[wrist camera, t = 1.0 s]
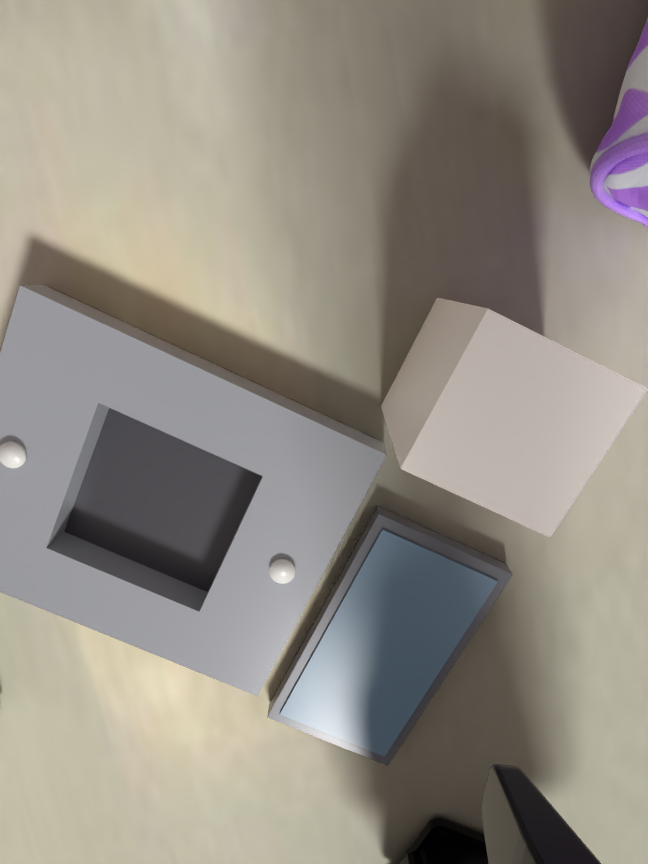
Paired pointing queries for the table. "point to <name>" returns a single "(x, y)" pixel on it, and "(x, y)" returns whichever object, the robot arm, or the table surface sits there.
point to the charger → (503, 414)
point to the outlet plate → (164, 490)
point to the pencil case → (626, 145)
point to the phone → (387, 636)
